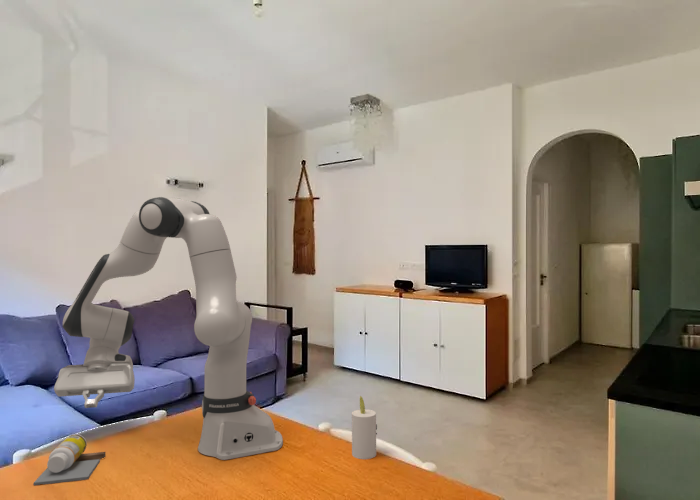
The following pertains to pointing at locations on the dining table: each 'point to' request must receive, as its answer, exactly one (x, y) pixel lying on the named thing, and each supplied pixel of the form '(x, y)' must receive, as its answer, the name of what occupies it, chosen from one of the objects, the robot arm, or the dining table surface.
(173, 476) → the dining table surface
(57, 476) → the felt tile
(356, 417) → the candle
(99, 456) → the strip
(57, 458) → the supplement bottle
